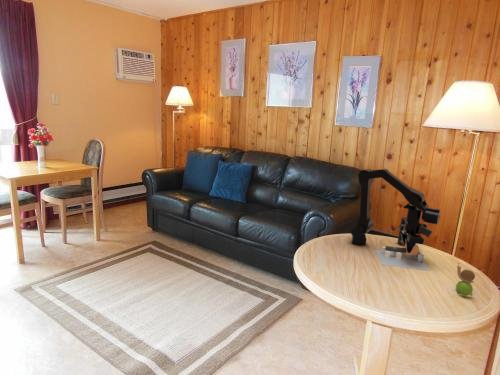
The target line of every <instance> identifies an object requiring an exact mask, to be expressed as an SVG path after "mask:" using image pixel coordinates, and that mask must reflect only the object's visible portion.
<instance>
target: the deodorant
mask: <svg viewBox="0 0 500 375" xmlns="http://www.w3.org/2000/svg"><path fill="white" fill-rule="evenodd" d="M406 217H407V216H406ZM406 217H401V220H400V224H404V225H405V223H406V222H405V219H406ZM400 232H402V230H401V231H399V230H398V237H397V245H398V246H401V247H404V244H403V240H402V237H401V234H400Z"/></svg>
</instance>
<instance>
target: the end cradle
mask: <svg viewBox="0 0 500 375" xmlns="http://www.w3.org/2000/svg"><path fill="white" fill-rule="evenodd" d="M412 256H416V255H412ZM416 257H417V262H420V263H423V262H424V258H425V255H424V254H423V252H422V251H421V250H420V249H419V251H418V256H416Z"/></svg>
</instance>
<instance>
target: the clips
mask: <svg viewBox="0 0 500 375" xmlns="http://www.w3.org/2000/svg"><path fill="white" fill-rule="evenodd" d="M385 247H386V246H382V249H381V250H382V253H384V254H385V256H384V257H385V258H390V251H386V250H385ZM393 255H396V259H400V260H401V255H402V252H393Z"/></svg>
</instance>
